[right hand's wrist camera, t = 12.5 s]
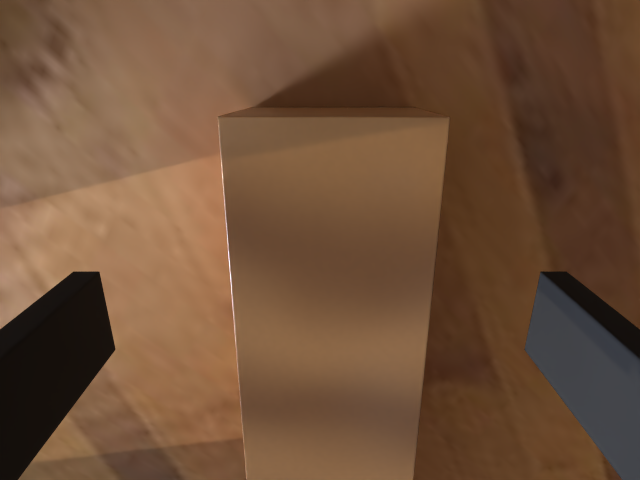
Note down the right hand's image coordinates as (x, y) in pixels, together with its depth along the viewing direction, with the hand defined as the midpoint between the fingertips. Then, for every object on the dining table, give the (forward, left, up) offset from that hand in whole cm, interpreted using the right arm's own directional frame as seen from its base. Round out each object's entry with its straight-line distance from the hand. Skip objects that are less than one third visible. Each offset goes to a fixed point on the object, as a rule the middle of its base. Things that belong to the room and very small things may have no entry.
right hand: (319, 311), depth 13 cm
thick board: (-3, -34, -13) cm, 37 cm away
